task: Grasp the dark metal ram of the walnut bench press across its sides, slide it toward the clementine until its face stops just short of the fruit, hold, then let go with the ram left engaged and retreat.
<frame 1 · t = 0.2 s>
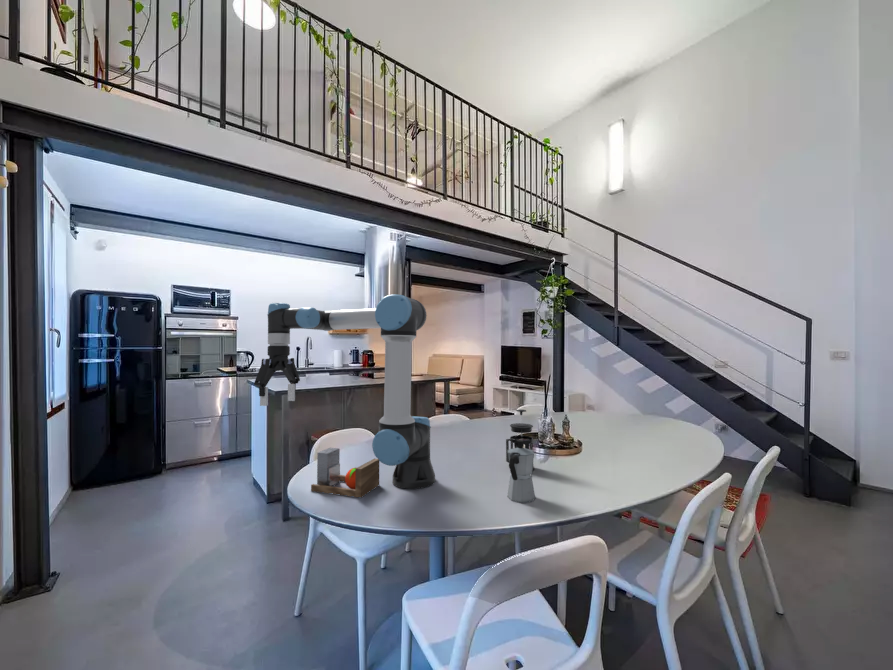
hand: (278, 403, 140), 28 cm above the table, tool pointing down, fingers open, 13 cm apart
clementine: (354, 489, 129), resting in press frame
coffee maker: (519, 499, 120), on the table
french press: (520, 469, 151), on the table
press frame: (345, 488, 130), on the table
ram: (329, 468, 132), point 6 cm above the table, slide at 0.0 cm
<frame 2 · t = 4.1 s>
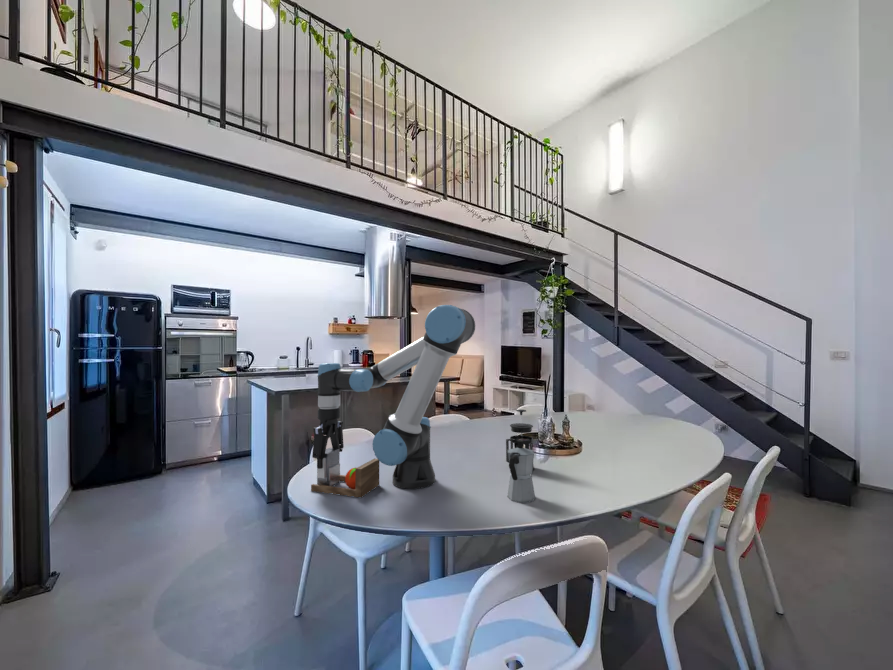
hand: (328, 473, 133), 4 cm above the table, tool pointing down, fingers closed on ram, 7 cm apart
ram: (329, 468, 132), point 6 cm above the table, slide at 0.0 cm, touching gripper
everything else where it was.
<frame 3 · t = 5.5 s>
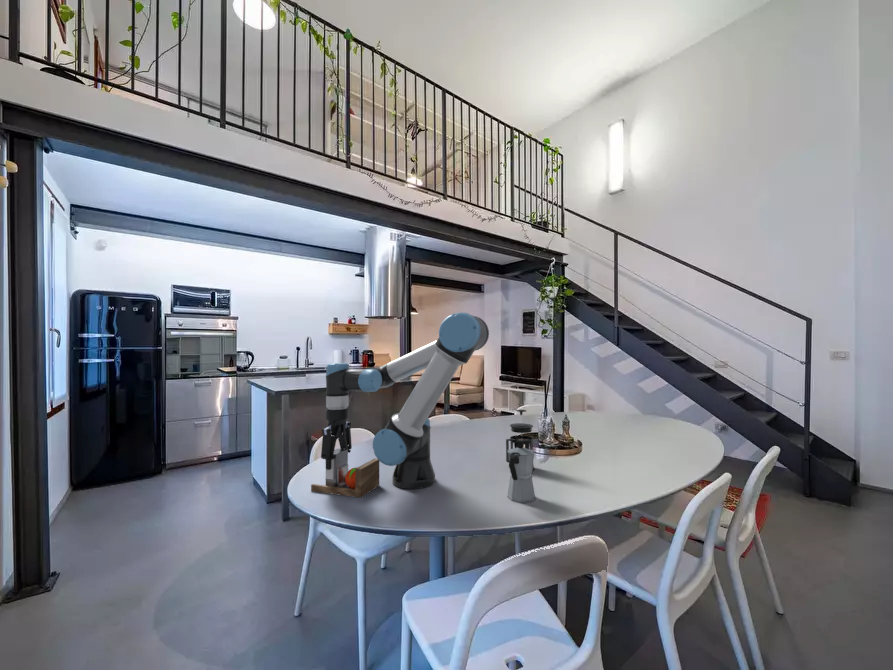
hand: (336, 474, 131), 4 cm above the table, tool pointing down, fingers closed on ram, 7 cm apart
ram: (337, 468, 131), point 6 cm above the table, slide at 3.4 cm, touching gripper
everything else where it was.
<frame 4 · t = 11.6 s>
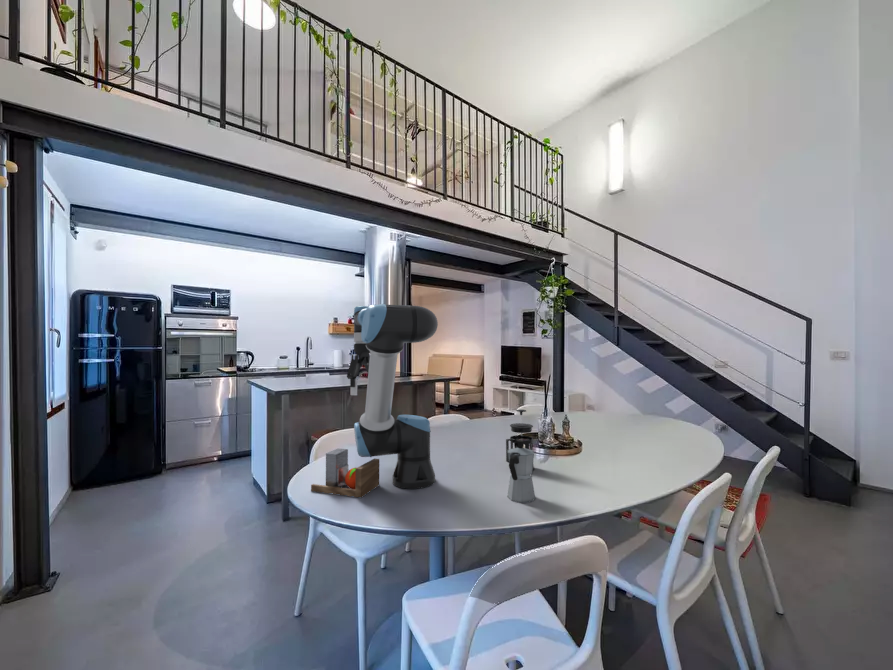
hand: (362, 393, 161), 29 cm above the table, tool pointing down, fingers open, 13 cm apart
ram: (337, 469, 131), point 6 cm above the table, slide at 3.4 cm
everything else where it was.
at the end: ram slide at 3.4 cm; clementine moved 0.2 cm from its start; the gripper is holding nothing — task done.
